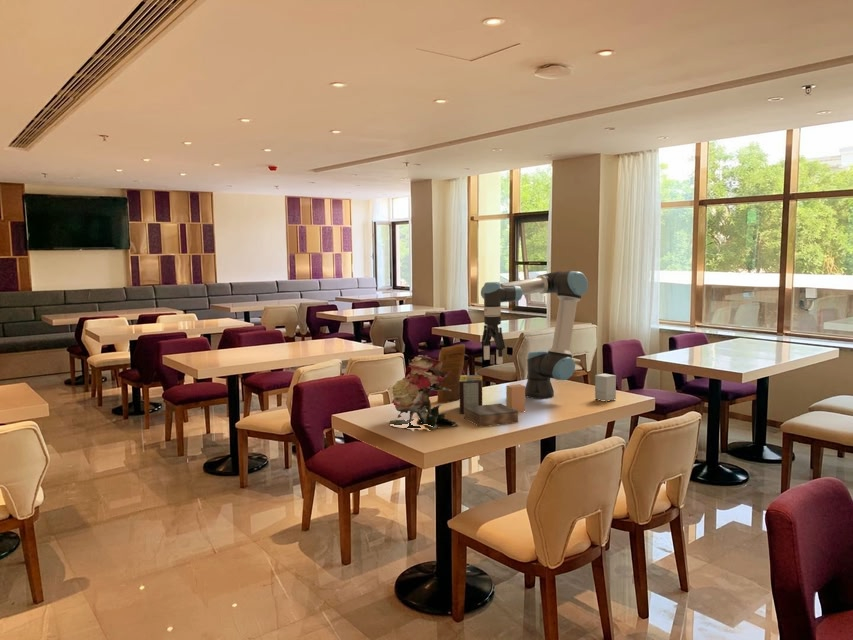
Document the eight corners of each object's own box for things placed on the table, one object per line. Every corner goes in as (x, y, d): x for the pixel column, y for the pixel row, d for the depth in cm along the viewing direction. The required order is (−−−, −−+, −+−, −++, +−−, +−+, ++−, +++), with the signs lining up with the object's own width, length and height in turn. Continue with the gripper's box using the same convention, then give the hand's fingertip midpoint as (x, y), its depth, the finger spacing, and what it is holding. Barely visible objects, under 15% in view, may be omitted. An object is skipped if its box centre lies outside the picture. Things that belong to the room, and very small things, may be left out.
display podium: (500, 414, 286) (500, 403, 285) (517, 422, 271) (517, 411, 270) (464, 418, 279) (464, 407, 279) (480, 426, 264) (480, 415, 264)
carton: (519, 409, 294) (519, 384, 293) (525, 411, 290) (525, 386, 289) (506, 411, 292) (506, 385, 291) (511, 413, 287) (511, 387, 286)
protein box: (482, 407, 301) (482, 374, 300) (482, 414, 286) (482, 381, 284) (460, 406, 302) (460, 374, 300) (459, 414, 287) (459, 380, 285)
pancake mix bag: (469, 398, 319) (469, 343, 317) (441, 404, 308) (440, 347, 305) (460, 396, 325) (460, 342, 322) (432, 402, 313) (431, 346, 310)
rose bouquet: (418, 413, 289) (417, 349, 286) (465, 425, 268) (464, 355, 265) (374, 424, 272) (373, 355, 269) (420, 437, 250) (419, 362, 248)
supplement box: (616, 400, 311) (616, 375, 310) (606, 402, 307) (606, 376, 306) (604, 397, 317) (604, 373, 316) (594, 399, 313) (594, 374, 312)
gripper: (474, 314, 299) (474, 358, 301) (496, 318, 276) (497, 366, 278) (488, 313, 302) (488, 357, 304) (512, 317, 278) (512, 365, 280)
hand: (493, 361), depth 291 cm, fingers open, 13 cm apart
